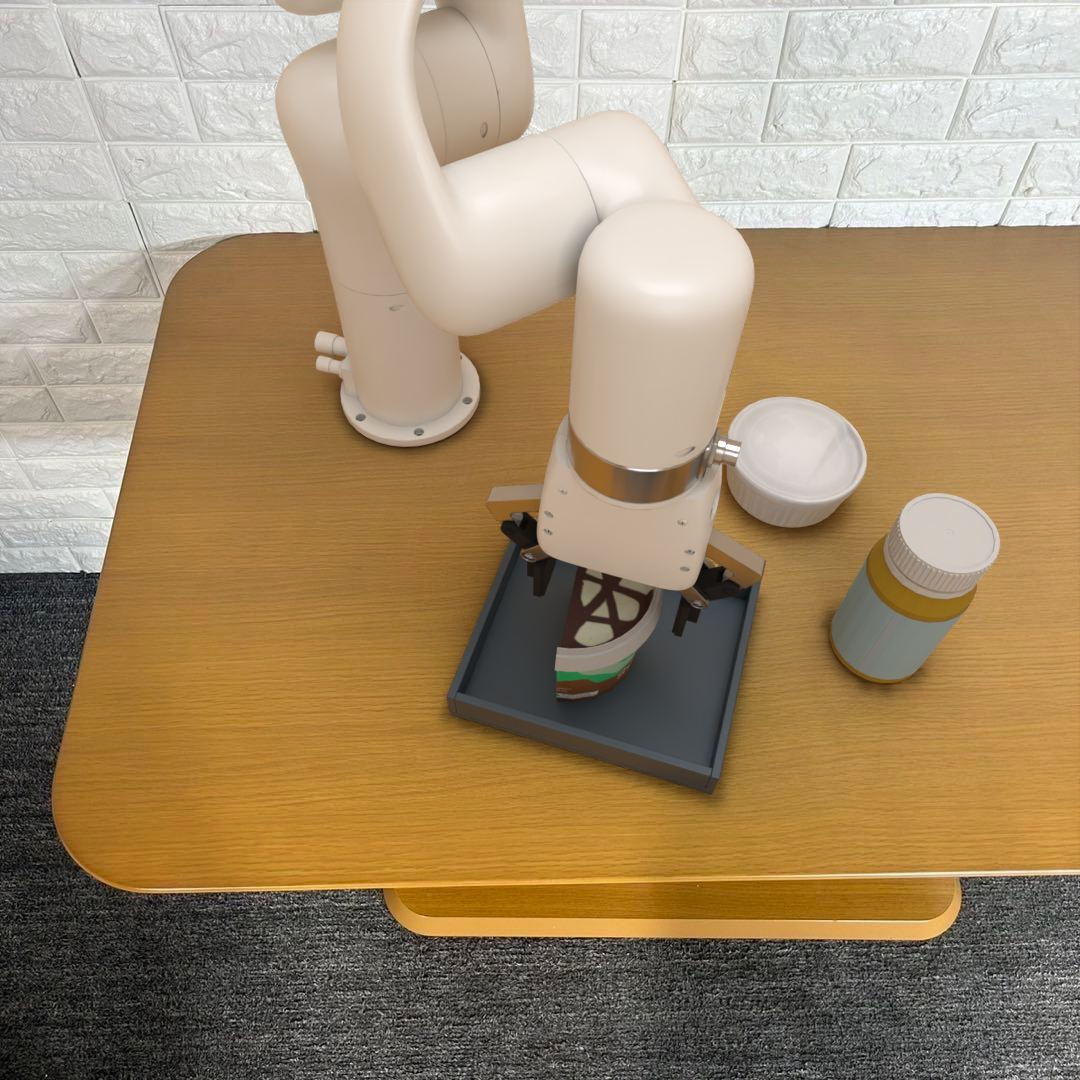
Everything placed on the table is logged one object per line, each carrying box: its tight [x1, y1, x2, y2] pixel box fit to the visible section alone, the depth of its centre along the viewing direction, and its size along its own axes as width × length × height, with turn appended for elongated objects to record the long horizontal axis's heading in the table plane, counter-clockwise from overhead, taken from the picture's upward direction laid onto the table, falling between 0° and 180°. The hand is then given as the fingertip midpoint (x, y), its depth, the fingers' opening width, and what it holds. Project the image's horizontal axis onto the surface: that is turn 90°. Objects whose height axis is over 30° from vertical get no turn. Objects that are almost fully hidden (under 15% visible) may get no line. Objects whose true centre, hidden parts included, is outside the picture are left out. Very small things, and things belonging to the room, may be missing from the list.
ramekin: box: [726, 396, 868, 529], centre depth 74 cm, size 11×11×5 cm
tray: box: [446, 539, 762, 795], centre depth 66 cm, size 19×16×3 cm
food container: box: [555, 566, 663, 702], centre depth 63 cm, size 12×6×10 cm, turn 168°
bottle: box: [829, 492, 1001, 684], centre depth 62 cm, size 7×7×15 cm
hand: (612, 598), depth 61 cm, fingers open, 9 cm apart
